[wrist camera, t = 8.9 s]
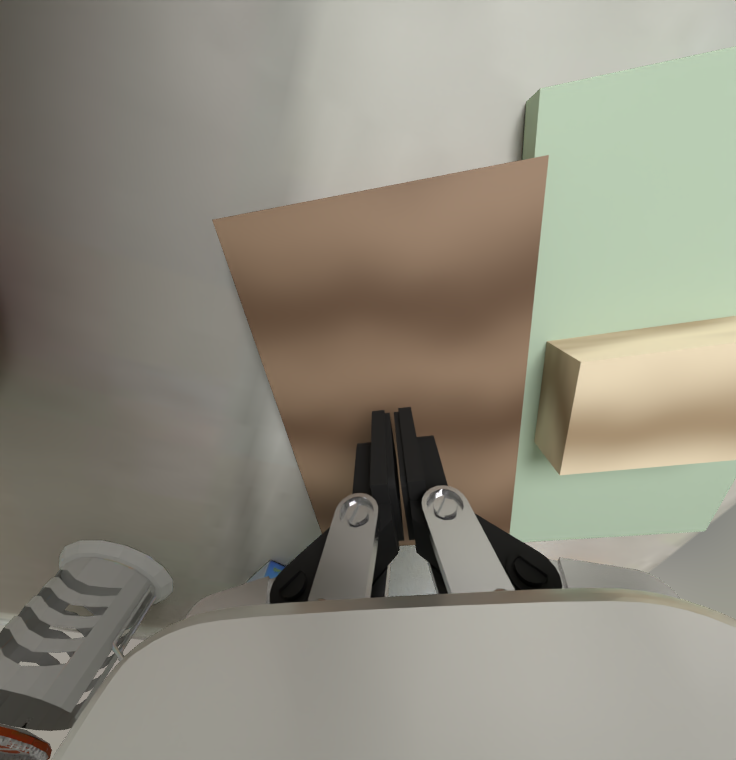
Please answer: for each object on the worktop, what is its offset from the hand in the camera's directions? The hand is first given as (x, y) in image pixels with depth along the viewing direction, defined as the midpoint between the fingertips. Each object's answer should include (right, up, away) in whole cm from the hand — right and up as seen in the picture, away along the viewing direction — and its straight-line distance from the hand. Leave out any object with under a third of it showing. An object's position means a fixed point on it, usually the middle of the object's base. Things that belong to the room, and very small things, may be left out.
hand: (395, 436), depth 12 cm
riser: (+1, +1, +4) cm, 4 cm away
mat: (+13, +3, +3) cm, 13 cm away
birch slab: (+12, +2, +2) cm, 12 cm away
